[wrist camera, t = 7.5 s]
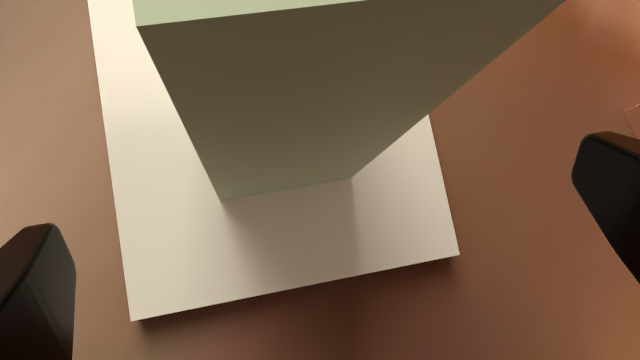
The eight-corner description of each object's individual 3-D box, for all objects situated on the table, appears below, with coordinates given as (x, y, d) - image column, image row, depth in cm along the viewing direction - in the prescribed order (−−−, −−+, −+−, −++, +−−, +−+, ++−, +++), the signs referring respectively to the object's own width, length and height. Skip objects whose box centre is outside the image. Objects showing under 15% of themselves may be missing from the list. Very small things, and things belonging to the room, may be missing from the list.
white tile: (448, 255, 18) (459, 254, 17) (137, 317, 17) (130, 321, 16) (387, -22, 20) (394, -37, 19) (95, 8, 18) (86, -7, 17)
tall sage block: (351, 177, 17) (597, -26, 5) (219, 200, 17) (135, 26, 4) (326, 54, 18) (492, -394, 6) (197, 71, 17) (69, -405, 5)
